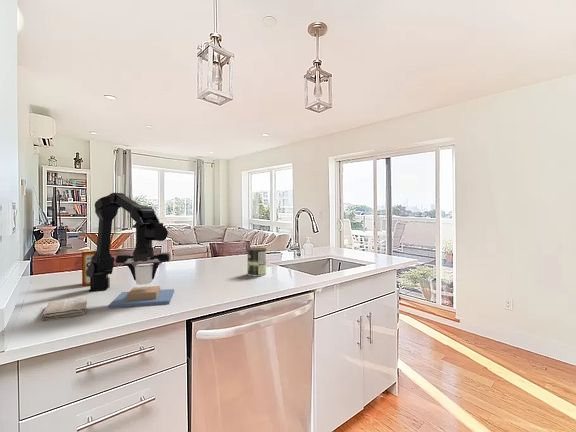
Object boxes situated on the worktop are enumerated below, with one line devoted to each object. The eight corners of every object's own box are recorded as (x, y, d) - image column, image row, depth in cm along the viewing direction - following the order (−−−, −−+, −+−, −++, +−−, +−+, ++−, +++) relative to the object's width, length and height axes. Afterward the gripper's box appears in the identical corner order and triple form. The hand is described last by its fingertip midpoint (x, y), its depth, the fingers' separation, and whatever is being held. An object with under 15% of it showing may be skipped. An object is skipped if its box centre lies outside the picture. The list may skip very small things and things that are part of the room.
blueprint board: (108, 308, 109) (108, 297, 109) (122, 295, 126) (121, 286, 126) (169, 303, 114) (169, 293, 114) (174, 291, 131) (173, 283, 131)
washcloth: (40, 323, 95) (40, 313, 95) (47, 308, 110) (47, 299, 110) (86, 316, 102) (86, 307, 102) (87, 303, 117) (87, 295, 117)
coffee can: (248, 276, 161) (248, 250, 161) (246, 273, 171) (246, 247, 171) (267, 275, 164) (267, 249, 164) (264, 272, 174) (264, 247, 174)
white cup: (134, 285, 115) (134, 267, 115) (134, 281, 121) (134, 264, 121) (154, 283, 118) (154, 265, 118) (153, 280, 125) (153, 262, 124)
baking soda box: (82, 286, 141) (81, 251, 141) (82, 283, 147) (82, 249, 146) (106, 283, 146) (106, 249, 146) (105, 281, 152) (105, 248, 152)
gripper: (111, 242, 109) (111, 286, 110) (167, 241, 114) (167, 283, 115) (119, 239, 120) (119, 279, 120) (170, 238, 125) (170, 276, 125)
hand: (144, 279), depth 120 cm, fingers closed on white cup, 6 cm apart
